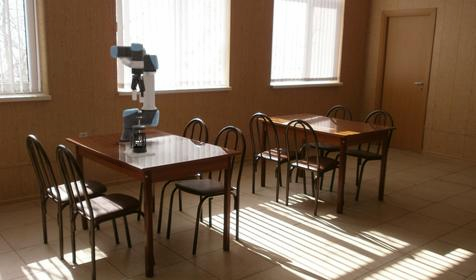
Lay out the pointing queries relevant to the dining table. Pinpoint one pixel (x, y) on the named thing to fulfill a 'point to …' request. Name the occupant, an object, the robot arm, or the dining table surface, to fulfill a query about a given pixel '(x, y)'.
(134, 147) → the french press
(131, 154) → the ceramic tile
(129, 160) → the dining table surface
